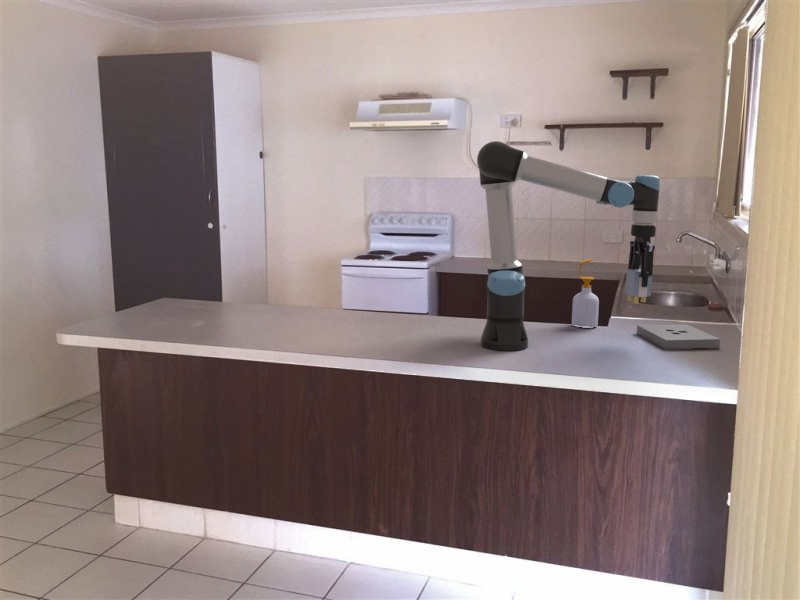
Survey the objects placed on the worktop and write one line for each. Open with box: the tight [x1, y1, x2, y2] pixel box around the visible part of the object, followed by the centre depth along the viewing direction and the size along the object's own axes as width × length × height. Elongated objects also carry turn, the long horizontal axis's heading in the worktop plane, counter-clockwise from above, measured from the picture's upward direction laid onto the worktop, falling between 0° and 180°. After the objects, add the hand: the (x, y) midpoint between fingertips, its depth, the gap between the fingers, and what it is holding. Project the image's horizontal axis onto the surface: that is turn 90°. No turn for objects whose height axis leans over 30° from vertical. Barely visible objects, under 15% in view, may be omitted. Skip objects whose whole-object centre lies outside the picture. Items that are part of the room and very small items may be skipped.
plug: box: [625, 268, 654, 305], centre depth 239 cm, size 6×6×10 cm
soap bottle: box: [571, 258, 600, 328], centre depth 263 cm, size 9×9×25 cm
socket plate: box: [636, 323, 721, 350], centre depth 244 cm, size 18×22×3 cm
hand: (637, 294), depth 240 cm, fingers closed on plug, 6 cm apart
